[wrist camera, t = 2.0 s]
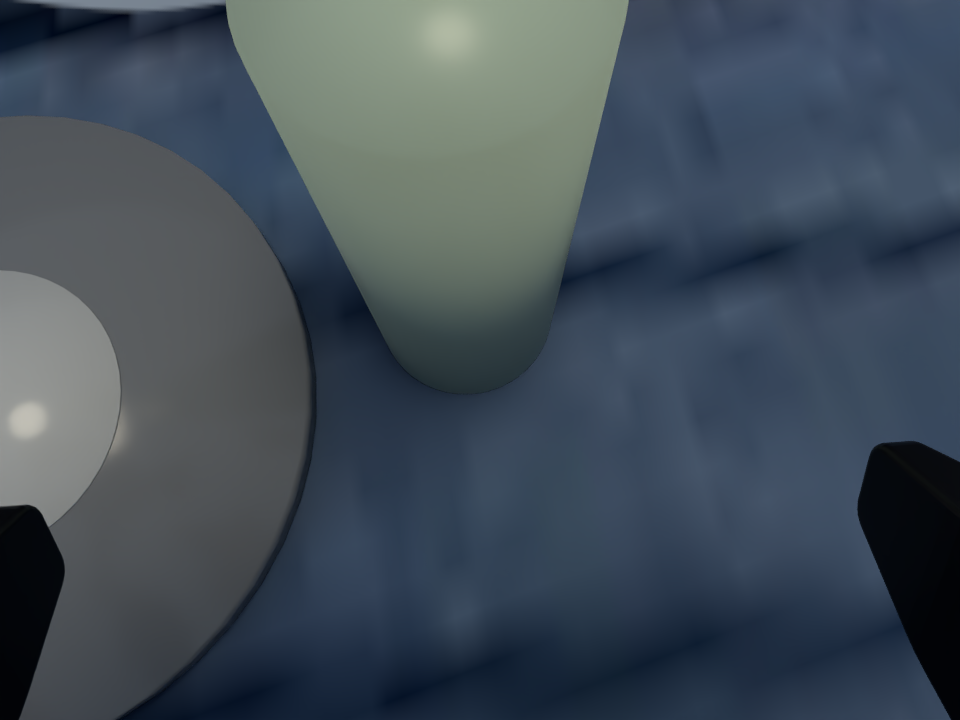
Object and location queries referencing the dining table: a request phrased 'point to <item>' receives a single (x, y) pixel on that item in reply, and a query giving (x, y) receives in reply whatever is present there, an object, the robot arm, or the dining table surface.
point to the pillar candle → (442, 158)
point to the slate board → (142, 404)
